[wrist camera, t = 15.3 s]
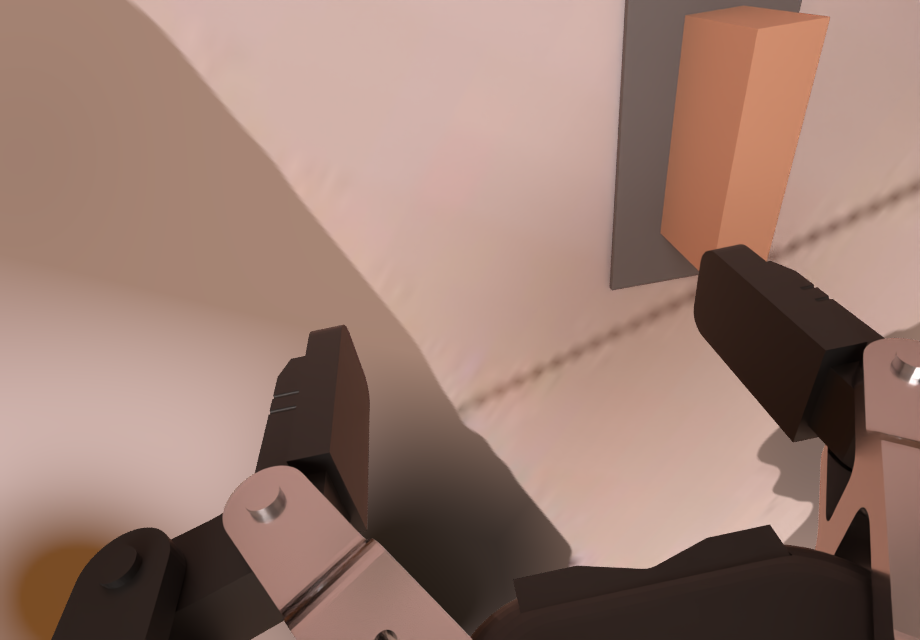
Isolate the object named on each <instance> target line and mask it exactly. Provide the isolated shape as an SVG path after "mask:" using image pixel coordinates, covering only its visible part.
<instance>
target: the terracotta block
mask: <svg viewBox="0 0 920 640" xmlns="http://www.w3.org/2000/svg"><path fill="white" fill-rule="evenodd" d="M829 20H830V17H827V16H820V15H812V14H805V13H797V12H789V11H782V10H774V9H766V8H759V7H751V6H738V7H732V8H726V9H720V10H714V11H708V12H702V13H696V14H690V15H685V22H684V31H683V39H682V48H681V57H680V66H679V74H678V83H677V92H676V101H675V109H674V118H673V127H672V136H671V144H670V153H669V162H668V171H667V179H666V188H665V197H664V206H663V214H662V223H661V232H660V233H661V234H662V235H663V236H664V237H665V238H666V239H667V240H668V241H669V242H670V243H671V244H672V245H673V246H674V247H675V248H676V249H677V250H678V251H679V252H680V253H681V254H682V255H683V256H684V257H685V258H686V259H687V260H688V261H689V262H690V263H691V264H692V265H693V266H694V267H695V268H696V269H697V270H698V271H699V268H700V262H701V258H702V255H703V254H704V253H705V252H706V251H709V250H714V249H719V248H724V247H729V246H733V245H738V244H743V245H746V246H747V247H749V248H750V249H751V250H753V251H754V252H755V253H756V254H758V255H759V256H760V257H761V258H763V259H764V260H765V261H766V262H767V258H768V254H769V250H770V247H771V243H772V239H773V235H774V231H775V227H776V224H777V220H778V216H779V212H780V208H781V204H782V200H783V197H784V193H785V189H786V185H787V181H788V177H789V174H790V170H791V166H792V162H793V158H794V154H795V150H796V147H797V143H798V139H799V135H800V131H801V127H802V124H803V120H804V116H805V112H806V108H807V104H808V101H809V97H810V93H811V89H812V85H813V81H814V77H815V74H816V70H817V66H818V62H819V58H820V54H821V51H822V47H823V43H824V39H825V35H826V31H827V27H828V24H829Z"/></svg>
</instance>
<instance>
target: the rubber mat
mask: <svg viewBox="0 0 920 640" xmlns="http://www.w3.org/2000/svg"><path fill="white" fill-rule="evenodd" d="M801 2H802V0H625V17H624V36H623V54H622V72H621V91H620V109H619V127H618V146H617V164H616V182H615V201H614V219H613V238H612V256H611V274H610V289H611V290H617V289H622V288H628V287H633V286H639V285H644V284H650V283H655V282H661V281H666V280H672V279H677V278H683V277H689V276H694V275H699V271H698V270H697V269H696V268H695V267H694V266H693V265H692V264H691V263H690V262H689V261H688V260H687V259H686V258H685V257H684V256H683V255H682V254H681V253H680V252H679V251H678V250H677V249H676V248H675V247H674V246H673V245H672V244H671V243H670V242H669V241H668V240H667V239H666V238H665V237H664V236H663V235H662V234H661V233H660V232H661V223H662V214H663V206H664V197H665V188H666V179H667V171H668V162H669V153H670V144H671V136H672V127H673V118H674V109H675V101H676V92H677V83H678V74H679V66H680V57H681V48H682V39H683V31H684V22H685V15H690V14H696V13H702V12H708V11H714V10H720V9H726V8H732V7H738V6H751V7H759V8H766V9H774V10H782V11H789V12H797V13H799V11H800V6H801Z"/></svg>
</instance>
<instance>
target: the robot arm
mask: <svg viewBox="0 0 920 640" xmlns="http://www.w3.org/2000/svg"><path fill="white" fill-rule="evenodd" d="M694 318H695V322H696V325H697V328H698V330H699V332H700V333H701V335H702V336H703V337H704V338H705V340H706V341H707V342H708V343H709V344H710V346H711V347H712V348H713V349H714V350H715V351H716V353H717V354H718V355H719V356H720V357H721V358H722V360H723V361H724V362H725V363H726V364H727V365H728V367H729V368H730V369H731V370H732V371H733V372H734V374H735V375H736V376H737V377H738V378H739V380H740V381H741V382H742V383H743V384H744V385H745V387H746V388H747V389H748V390H749V391H750V392H751V394H752V395H753V396H754V397H755V398H756V399H757V401H758V402H759V403H760V404H761V405H762V407H763V408H764V409H765V410H766V411H767V412H768V414H769V415H770V416H771V417H772V418H773V419H774V421H775V422H776V423H777V424H778V425H779V426H780V428H781V429H782V430H783V431H784V432H785V433H786V435H787V436H788V437H789V438H790V439H791V441H792V442H797V441H802V440H807V439H811V438H816V437H819V438H820V439H821V440H822V441H823V442H824V443H825V446H824V449H823V451H822V454H821V469H820V493H819V520H818V536H817V542H816V546H815V550H814V549H810V548H805V547H799V546H792V545H783V543H782V542H781V540H780V539H779V537H778V536H777V534H776V533H775V531H774V530H773V529H772V527H771V526H770V525H766V526H761V527H756V528H751V529H747V530H742V531H737V532H733V533H728V534H723V535H719V536H714V537H709V538H706V539H704V540H702V541H701V542H699V543H697V544H695V545H693V546H691V547H690V548H688V549H686V550H684V551H682V552H680V553H679V554H677V555H675V556H673V557H671V558H669V559H668V560H666V561H664V562H662V563H660V564H658V565H657V566H654V567H652V568H648V569H633V568H612V567H591V566H573V567H569V568H565V569H559V570H555V571H550V572H545V573H541V574H536V575H532V576H526V577H522V578H517V579H513V581H514V587H515V592H516V597H517V598H516V599H515V600H513V601H511V602H509V603H507V604H505V605H504V606H502V607H501V608H500V609H498V610H497V611H496V612H494V613H493V614H491V616H489V617H488V618H487V619H486V620H485V621H484V622H483V623H482V624H481V625H480V626H479V627H478V628H477V629H476V630H475V632H474V633H473V634H472V635H471V637H470V636H469V635H467V633H465V631H463V629H462V628H461V627H460V626H459V625H458V624H457V623H456V622H455V621H454V620H453V619H452V618H451V617H450V616H449V615H448V614H447V613H446V612H445V611H444V610H443V609H442V608H441V607H440V606H439V604H438V603H437V602H435V600H434V599H432V597H431V596H430V595H429V594H428V593H427V592H426V591H425V590H424V589H423V588H422V587H421V586H420V585H419V584H418V583H417V582H416V581H415V580H414V579H413V578H412V577H411V576H410V575H409V573H407V571H406V570H405V569H403V567H402V566H401V565H400V564H399V563H398V562H397V561H396V560H395V559H394V558H393V557H392V556H391V555H390V554H389V553H388V552H387V551H386V550H385V549H384V548H383V547H382V546H381V545H380V544H379V543H378V542H377V541H375V540H374V539H372V538H369V539H368V540H366V539H365V538H363V537H362V536H361V535H360V534H359V532H363V531H367V514H368V510H367V509H368V462H369V411H370V409H369V408H370V400H369V391H368V385H367V381H366V377H365V375H364V372H363V369H362V366H361V363H360V361H359V358H358V355H357V353H356V350H355V347H354V345H353V342H352V339H351V336H350V333H349V331H348V329H347V327H346V326H345V325H341V326H336V327H331V328H326V329H321V330H316V331H312V332H310V334H309V339H308V344H307V350H306V355H305V356H303V357H298V358H293V359H291V360H290V361H289V362H288V364H287V365H286V367H285V368H284V369H283V371H282V372H281V373H280V375H279V376H278V378H277V382H276V387H275V391H274V395H273V396H274V399H273V400H272V403H271V408H270V415H269V416H268V420H267V424H266V429H265V433H264V437H263V441H262V445H261V449H260V454H259V458H258V462H257V466H256V470H255V474H253V475H252V476H250V477H249V478H247V479H246V480H245V481H243V482H242V483H241V484H240V485H239V486H238V487H237V488H236V489H235V490H234V492H233V493H232V494H231V496H230V497H229V499H228V501H227V503H226V505H225V508H224V512H223V513H222V514H221V515H219V516H217V517H215V518H214V519H212V520H210V521H208V522H206V523H204V524H202V525H200V526H198V527H196V528H194V529H192V530H190V531H188V532H185V533H184V534H181V535H179V536H177V537H175V538H173V539H170V538H169V537H168V536H167V535H166V534H165V533H164V532H162V531H161V530H159V529H156V528H140V529H136V530H133V531H130V532H128V533H125V534H123V535H121V536H119V537H118V538H116V539H114V540H113V541H111V542H110V543H109V544H107V545H106V546H105V547H103V548H102V549H101V550H100V551H99V552H98V553H97V554H96V555H95V556H94V557H93V558H92V559H91V560H90V561H89V563H88V564H87V565H86V566H85V568H84V569H83V570H82V572H81V574H80V575H79V577H78V579H77V581H76V584H75V586H74V588H73V590H72V593H71V595H70V597H69V600H68V602H67V604H66V607H65V609H64V611H63V614H62V616H61V619H60V621H59V623H58V625H57V628H56V630H55V633H54V635H53V637H52V640H251V639H252V638H254V637H256V636H258V635H259V634H261V633H263V632H265V631H266V630H268V629H270V628H272V627H273V626H275V625H277V624H279V623H280V622H282V621H284V622H285V623H286V625H287V626H288V628H289V630H290V631H291V633H292V634H293V635H294V637H295V638H296V640H920V341H917V340H913V339H905V338H886V339H885V338H884V337H882V336H881V335H880V334H878V333H877V332H876V331H874V330H873V329H872V328H870V327H869V326H868V325H866V324H865V323H864V322H862V321H861V320H860V319H858V318H857V317H856V316H854V315H853V314H852V313H850V312H849V311H848V310H846V309H845V308H844V307H843V306H841V305H840V304H839V303H837V302H836V301H835V300H833V299H829V296H828V295H827V294H825V293H824V292H823V291H821V290H820V289H819V288H814V285H813V284H812V283H811V282H809V281H808V280H807V279H805V278H804V277H803V276H802V275H800V274H799V273H798V272H796V271H794V270H792V269H789V268H787V267H784V266H782V265H779V264H777V263H774V262H772V261H768V262H766V261H765V260H764V259H763V258H761V257H760V256H759V255H758V254H756V253H755V252H754V251H753V250H751V249H750V248H749V247H747V246H746V245H743V244H738V245H733V246H729V247H724V248H719V249H714V250H709V251H706V252H705V253H704V254H703V255H702V258H701V262H700V268H699V275H698V282H697V289H696V296H695V303H694Z"/></svg>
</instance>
